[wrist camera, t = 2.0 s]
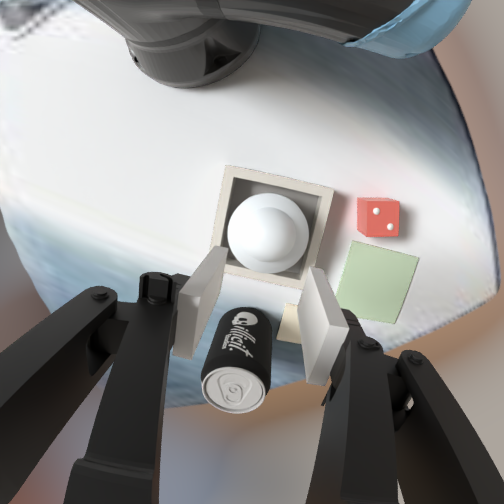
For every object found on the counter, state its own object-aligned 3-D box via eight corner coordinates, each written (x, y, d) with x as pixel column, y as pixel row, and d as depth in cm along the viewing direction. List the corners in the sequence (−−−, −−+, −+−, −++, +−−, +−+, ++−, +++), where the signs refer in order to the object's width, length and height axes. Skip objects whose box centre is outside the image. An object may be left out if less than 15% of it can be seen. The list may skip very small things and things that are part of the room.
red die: (357, 197, 31) (367, 201, 27) (387, 197, 31) (399, 201, 27) (357, 229, 32) (366, 237, 28) (386, 229, 31) (398, 236, 28)
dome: (239, 184, 29) (232, 187, 24) (313, 201, 29) (321, 207, 24) (225, 255, 32) (216, 272, 27) (295, 271, 31) (299, 290, 26)
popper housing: (229, 165, 31) (225, 165, 29) (329, 188, 31) (334, 189, 28) (211, 261, 34) (206, 268, 32) (305, 282, 34) (307, 290, 31)
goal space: (352, 240, 32) (353, 241, 32) (417, 257, 32) (418, 258, 32) (330, 311, 35) (330, 312, 34) (393, 322, 34) (394, 323, 34)
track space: (286, 303, 35) (286, 304, 34) (326, 311, 35) (326, 312, 34) (276, 338, 36) (276, 339, 36) (314, 345, 36) (314, 346, 36)
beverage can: (276, 308, 35) (275, 370, 23) (268, 353, 37) (264, 420, 25) (221, 300, 35) (197, 358, 24) (217, 345, 37) (196, 410, 25)
